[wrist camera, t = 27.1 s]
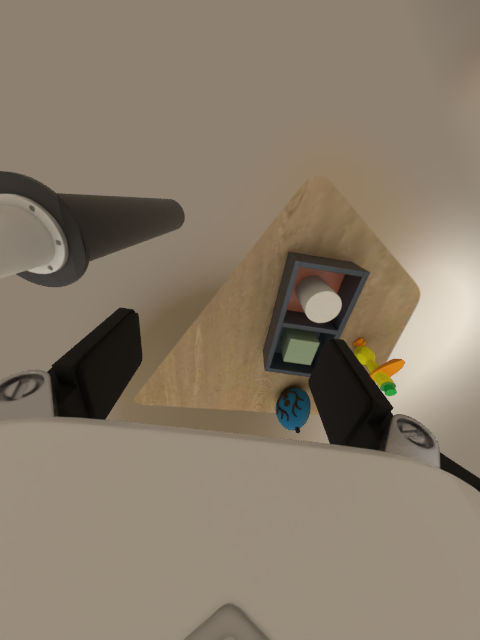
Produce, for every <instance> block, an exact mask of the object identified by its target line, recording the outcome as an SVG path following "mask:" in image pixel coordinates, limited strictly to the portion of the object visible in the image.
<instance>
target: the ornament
mask: <svg viewBox="0 0 480 640" xmlns="http://www.w3.org/2000/svg"><path fill="white" fill-rule="evenodd" d="M309 414H310V399H309V396H308V395H307V393H306V392H305V391H304V390H302V389H299V388H293V389H286V390H284V391H283V392H282V393H281V396H280V397H279V399H278V400H277V403H276V415H277V418H278V420H279V422H280V423H281V425H283V427H285V428H286V429H288V430H295V431H296V433H299V432H300V429H299V428H301V427H302V426H303V425H304V424H305V423H306V421H307V419H308V417H309Z"/></svg>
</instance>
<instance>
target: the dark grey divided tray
mask: <svg viewBox="0 0 480 640" xmlns="http://www.w3.org/2000/svg"><path fill="white" fill-rule="evenodd" d="M369 274H370V272H368V271H367V270H365V269H363V268H361V267H360V266H358V265H356V264H354V263H353V262H347V261H341V260H335V259H329V258H323V257H316V256H310V255H304V254H298V253H292V252H288V256H287V260H286V264H285V268H284V272H283V276H282V280H281V284H280V287H279V291H278V295H277V299H276V303H275V307H274V311H273V315H272V319H271V323H270V326H269V330H268V334H267V338H266V342H265V346H264V350H263V358H264V368H265V371H270V372H277V373H284V374H291V375H298V376H305V377H310V376H311V373H312V371H313V369H314V367H315V365H316V362H317V360H318V358H319V356H320V353H321V351H322V349H323V347H324V344H325V342H326V341H329V340H330V339H332V338H333V339H339V338H340V336H341V334H342V331H343V329H344V327H345V325H346V323H347V321H348V319H349V316H350V314H351V312H352V310H353V308H354V306H355V304H356V302H357V299H358V297H359V295H360V293H361V291H362V289H363V287H364V284H365V282H366V280H367V278H368V276H369ZM313 275H314V276H318V277H320V278H322V279H323V280H324V281H325V282H326V283H327V284H328V285H329V286H330V287H331V288H332V289H333V291H334V292H335V293H336V294H337V295H338V296H339V297H340V299H341V302H342V306H341V310H340V312H339V314H338V315H337V316H336V317H335V318H334V319H332V320H330V321H328V322H325V323H316V322H313V321H311V320H310V319H309V318H308V317H307V316H306V314H305V312H304V310H303V308H302V306H301V304H300V302H299V300H298V298H297V296H296V287H297V285H298V283H299V282H300V281H301V280H302V279H303V278H305V277H307V276H313ZM285 327H288V328H294V329H301V330H308V331H314V333H315V335H316V337H317V338H318V340H319V342H320V344H319V346H318V348H317V351H316V353H315V356H314V358H313V360H312V363H311V365H306V364H299V363H292V362H285V361H283V357H282V352H281V348H280V343H281V339H282V336H283V333H284V329H285Z"/></svg>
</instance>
